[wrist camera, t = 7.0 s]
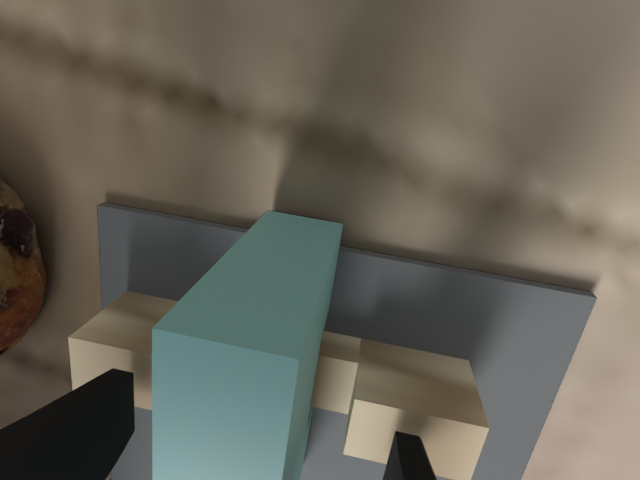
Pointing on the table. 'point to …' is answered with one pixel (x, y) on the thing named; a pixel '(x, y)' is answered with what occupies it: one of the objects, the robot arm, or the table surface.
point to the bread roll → (18, 269)
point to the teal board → (244, 356)
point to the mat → (375, 332)
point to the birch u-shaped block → (322, 385)
